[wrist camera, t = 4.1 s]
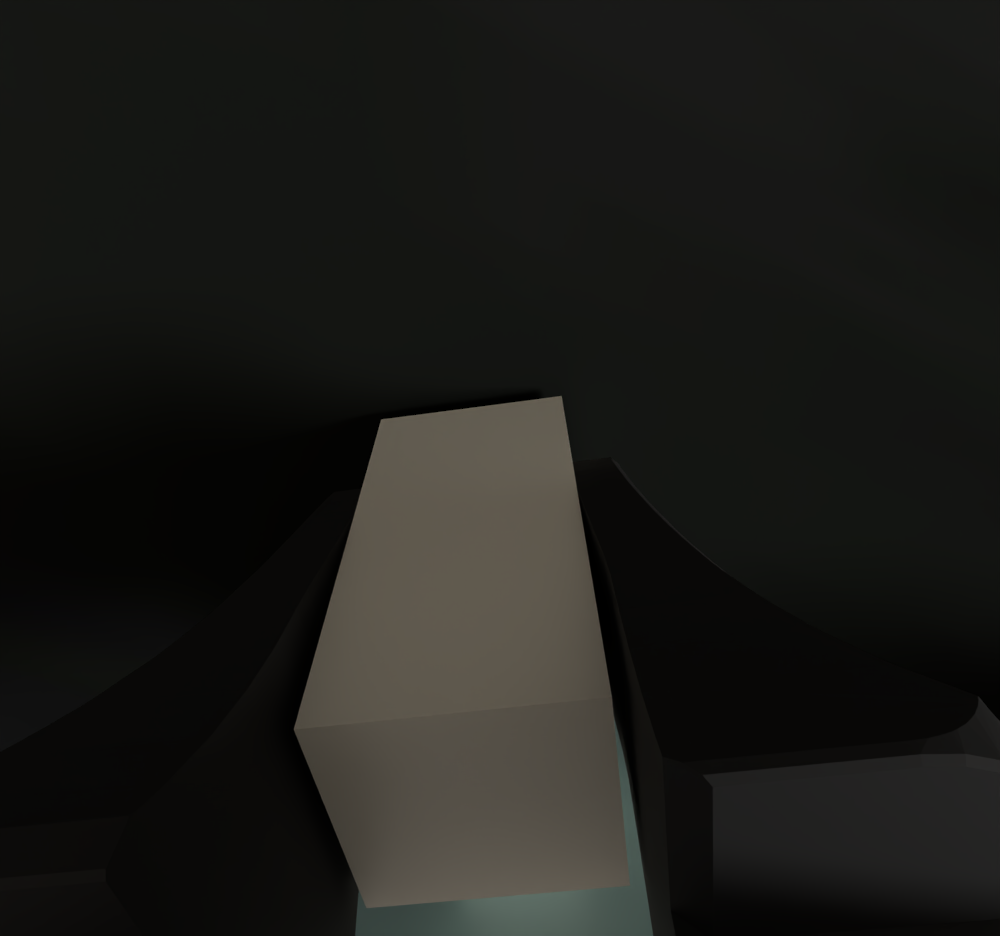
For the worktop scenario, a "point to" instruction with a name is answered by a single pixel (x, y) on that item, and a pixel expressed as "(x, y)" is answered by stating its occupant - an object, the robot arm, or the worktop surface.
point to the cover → (473, 691)
